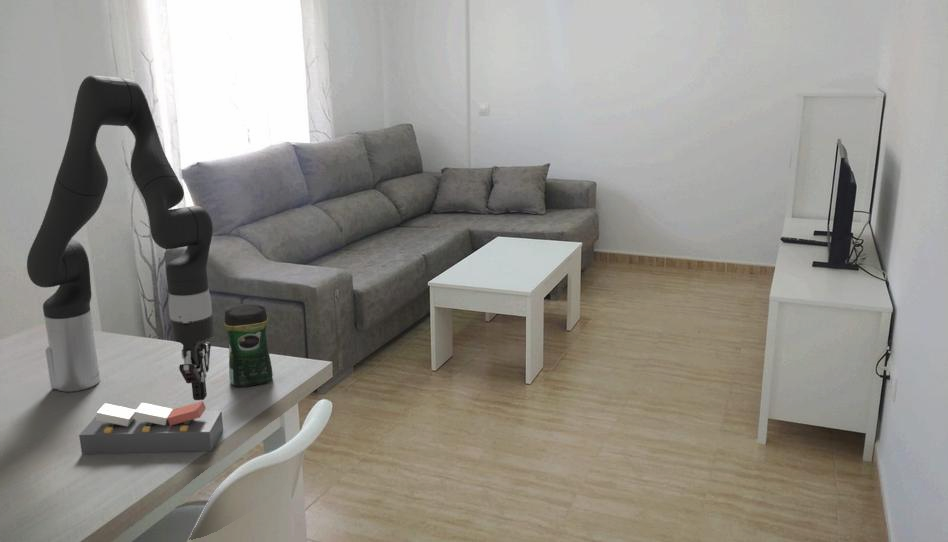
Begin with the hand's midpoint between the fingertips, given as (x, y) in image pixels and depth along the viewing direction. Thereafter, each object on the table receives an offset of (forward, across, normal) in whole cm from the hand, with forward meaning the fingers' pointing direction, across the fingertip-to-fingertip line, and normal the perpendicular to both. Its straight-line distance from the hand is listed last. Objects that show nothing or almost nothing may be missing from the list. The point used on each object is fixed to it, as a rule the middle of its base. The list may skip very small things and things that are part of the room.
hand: (200, 398), depth 150 cm
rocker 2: (+4, 0, -10) cm, 10 cm away
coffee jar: (+9, -28, +3) cm, 30 cm away
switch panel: (+9, 0, -10) cm, 13 cm away
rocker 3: (+4, 0, -2) cm, 5 cm away
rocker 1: (+4, 0, -16) cm, 17 cm away
